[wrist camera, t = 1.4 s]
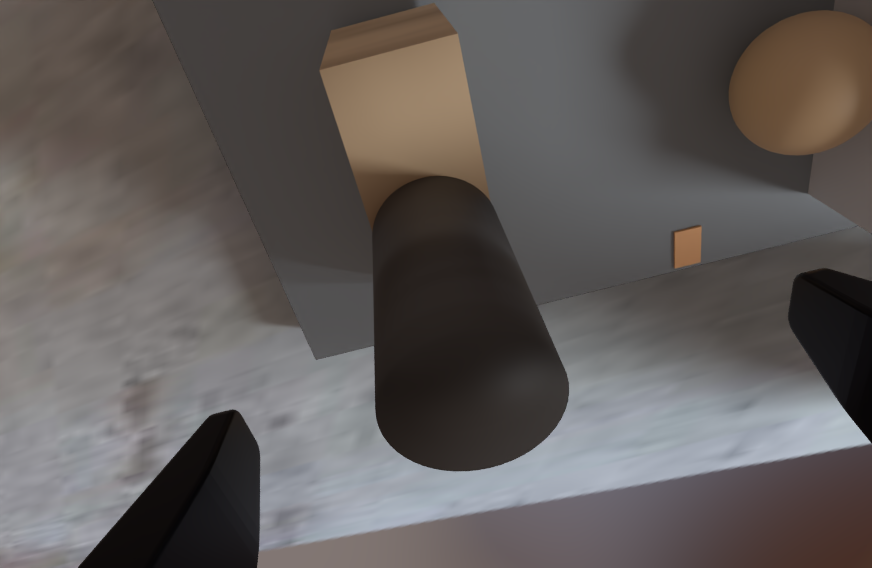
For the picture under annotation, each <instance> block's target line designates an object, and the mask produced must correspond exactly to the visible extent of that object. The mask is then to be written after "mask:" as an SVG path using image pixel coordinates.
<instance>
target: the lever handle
mask: <svg viewBox="0 0 872 568" xmlns="http://www.w3.org/2000/svg"><path fill="white" fill-rule="evenodd" d="M319 71H320V74H321V77H322V80H323V83H324V86H325V89H326V92H327V95H328V99H329V102H330V105H331V108H332V111H333V114H334V117H335V120H336V123H337V126H338V129H339V132H340V135H341V138H342V141H343V144H344V147H345V150H346V153H347V156H348V159H349V162H350V165H351V168H352V171H353V174H354V177H355V180H356V183H357V187H358V190H359V193H360V196H361V199H362V202H363V205H364V208H365V211H366V214H367V217H368V220H369V223H370V226H371V229H372V253H373V306H374V359H375V411H376V419H377V423H378V426H379V429H380V431H381V433H382V435H383V436H384V438H385V439H386V440H387V442H388V443H389V444H390V445H391V446H392V447H393V448H394V449H395V450H396V451H397V452H398V453H400V454H401V455H403V456H404V457H406V458H407V459H409V460H411V461H413V462H415V463H418V464H420V465H423V466H426V467H430V468H433V469H439V470H446V471H473V470H481V469H486V468H491V467H494V466H498V465H501V464H504V463H507V462H509V461H512V460H514V459H516V458H518V457H520V456H522V455H524V454H526V453H527V452H529V451H531V450H532V449H533V448H535V447H536V446H537V445H539V444H540V443H541V442H542V441H543V440H545V439H546V438H547V437H548V436H549V435H550V433H551V432H552V431H553V430H554V429H555V428H556V426H557V424H558V423H559V421H560V420H561V418H562V416H563V414H564V412H565V409H566V406H567V402H568V396H569V382H568V378H567V374H566V371H565V369H564V367H563V365H562V362H561V360H560V358H559V355H558V353H557V351H556V348H555V346H554V344H553V342H552V339H551V337H550V335H549V332H548V330H547V328H546V326H545V323H544V321H543V319H542V316H541V314H540V312H539V310H538V307H537V305H536V303H535V300H534V298H533V296H532V294H531V291H530V289H529V287H528V284H527V282H526V280H525V278H524V275H523V273H522V271H521V268H520V266H519V264H518V261H517V259H516V257H515V255H514V252H513V250H512V248H511V245H510V243H509V241H508V239H507V236H506V234H505V232H504V229H503V227H502V225H501V223H500V220H499V218H498V216H497V213H496V211H495V209H494V207H493V205H492V203H491V201H490V196H489V191H488V186H487V181H486V176H485V170H484V165H483V160H482V155H481V150H480V145H479V140H478V134H477V129H476V124H475V119H474V114H473V109H472V104H471V98H470V93H469V88H468V83H467V78H466V73H465V67H464V62H463V57H462V52H461V47H460V42H459V37H458V33H457V32H456V30H455V29H454V28H453V26H452V25H451V24H450V23H449V21H448V20H447V19H446V17H445V16H444V15H443V14H442V12H441V11H440V10H439V8H438V7H437V6H436V4H435V3H432V4H428V5H424V6H420V7H417V8H413V9H409V10H406V11H402V12H398V13H394V14H391V15H387V16H383V17H380V18H376V19H372V20H368V21H365V22H361V23H357V24H354V25H350V26H346V27H342V28H339V29H335V30H331V33H330V36H329V40H328V43H327V46H326V49H325V53H324V56H323V59H322V63H321V66H320V69H319Z"/></svg>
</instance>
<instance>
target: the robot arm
mask: <svg viewBox="0 0 872 568" xmlns="http://www.w3.org/2000/svg"><path fill="white" fill-rule="evenodd" d="M788 320H789V324H790V327H791V329H792V331H793V333H794V334H795V336H796V337H797V339H798V340H799V342H800V343H801V345H802V346H803V348H804V349H805V351H806V353H807V354H808V356H809V357H810V359H811V360H812V362H813V363H814V365H815V366H816V368H817V369H818V371H819V372H820V374H821V375H822V377H823V378H824V380H825V382H826V383H827V385H828V386H829V388H830V389H831V391H832V392H833V394H834V395H835V397H836V398H837V400H838V401H839V402H840V404H841V405H842V407H843V408H844V409H845V411H846V412H847V413H848V415H849V416H850V417H851V418H852V420H853V421H854V422H855V423H856V425H857V426H858V427H859V428H860V430H861V431H862V432H863V433H864V434H865V436H866V437H867V438H868V439H869V441H870V442H871V443H872V281H868V280H865V279H862V278H858V277H855V276H851V275H848V274H844V273H841V272H838V271H834V270H831V269H827V268H822V269H817V270H813V271H808V272H804V273H801V274H799V275H797V276H796V278H795V279H794V282H793V287H792V294H791V300H790V306H789V312H788ZM259 534H260V451H259V447H258V444H257V442H256V440H255V438H254V436H253V434H252V433H251V431H250V429H249V428H248V426H247V424H246V422H245V421H244V419H243V417H242V415H241V414H240V413H239V412H238V411H237V410H228V411H224V412H220V413H215V414H213V415H211V416H209V417H208V418H207V419H206V420H205V421H204V422H203V424H202V425H201V426H200V427H199V428H198V429H197V431H196V432H195V433H194V434H193V435H192V436H191V437H190V439H189V440H188V441H187V442H186V443H185V444H184V446H183V447H182V448H181V449H180V450H179V451H178V452H177V454H176V455H175V456H174V457H173V458H172V459H171V461H170V462H169V463H168V464H167V465H166V466H165V467H164V469H163V470H162V471H161V472H160V473H159V474H158V476H157V477H156V478H155V479H154V480H153V481H152V482H151V484H150V485H149V486H148V487H147V488H146V489H145V491H144V492H143V493H142V494H141V495H140V496H139V497H138V499H137V500H136V501H135V502H134V503H133V504H132V506H131V507H130V508H129V509H128V510H127V511H126V512H125V514H124V515H123V516H122V517H121V518H120V519H119V520H118V522H117V523H116V524H115V525H114V526H113V527H112V529H111V530H110V531H109V532H108V533H107V534H106V535H105V537H104V538H103V539H102V540H101V541H100V542H99V544H98V545H97V546H96V547H95V548H94V549H93V550H92V552H91V553H90V554H89V555H88V556H87V557H86V559H85V560H84V561H83V562H82V563H81V564H80V565H79V567H78V568H257V562H258V552H259Z"/></svg>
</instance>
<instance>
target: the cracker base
mask: <svg viewBox="0 0 872 568" xmlns="http://www.w3.org/2000/svg"><path fill="white" fill-rule="evenodd" d="M152 1H153V3H154V5H155V7H156V10H157V12H158V14H159V16H160V18H161V21H162V23H163V25H164V27H165V29H166V32H167V34H168V36H169V38H170V40H171V43H172V45H173V47H174V49H175V51H176V54H177V56H178V58H179V60H180V62H181V65H182V67H183V69H184V71H185V73H186V76H187V78H188V80H189V82H190V84H191V87H192V89H193V91H194V93H195V95H196V98H197V100H198V102H199V104H200V106H201V109H202V111H203V113H204V115H205V117H206V120H207V122H208V124H209V126H210V128H211V131H212V133H213V135H214V137H215V139H216V142H217V144H218V146H219V148H220V150H221V153H222V155H223V157H224V159H225V161H226V164H227V166H228V168H229V170H230V172H231V175H232V177H233V179H234V181H235V183H236V186H237V188H238V190H239V192H240V194H241V196H242V199H243V201H244V203H245V205H246V207H247V210H248V212H249V214H250V216H251V218H252V221H253V223H254V225H255V227H256V229H257V232H258V234H259V236H260V238H261V240H262V243H263V245H264V247H265V249H266V251H267V254H268V256H269V258H270V260H271V262H272V265H273V267H274V269H275V271H276V273H277V276H278V278H279V280H280V282H281V284H282V287H283V289H284V291H285V293H286V295H287V298H288V300H289V302H290V304H291V306H292V309H293V311H294V313H295V315H296V317H297V320H298V322H299V324H300V326H301V328H302V331H303V333H304V335H305V337H306V339H307V342H308V344H309V346H310V348H311V350H312V353H313V355H314V357H315V359H316V360H318V359H322V358H326V357H330V356H334V355H338V354H342V353H346V352H350V351H354V350H358V349H362V348H366V347H370V346H374V306H373V253H372V229H371V226H370V223H369V220H368V217H367V214H366V211H365V208H364V205H363V202H362V199H361V196H360V193H359V190H358V187H357V183H356V180H355V177H354V174H353V171H352V168H351V165H350V162H349V159H348V156H347V153H346V150H345V147H344V144H343V141H342V138H341V135H340V132H339V129H338V126H337V123H336V120H335V117H334V114H333V111H332V108H331V105H330V102H329V99H328V95H327V92H326V89H325V86H324V83H323V80H322V77H321V74H320V71H319V69H320V66H321V63H322V59H323V56H324V53H325V49H326V46H327V43H328V40H329V36H330V33H331V30H335V29H339V28H342V27H346V26H350V25H354V24H357V23H361V22H365V21H368V20H372V19H376V18H380V17H383V16H387V15H391V14H394V13H398V12H402V11H406V10H409V9H413V8H417V7H420V6H424V5H428V4H432V3H435V4H436V6H437V7H438V8H439V10H440V11H441V12H442V14H443V15H444V16H445V17H446V19H447V20H448V21H449V23H450V24H451V25H452V26H453V28H454V29H455V30H456V32H457V33H458V37H459V42H460V47H461V52H462V57H463V62H464V67H465V73H466V78H467V83H468V88H469V93H470V98H471V104H472V109H473V114H474V119H475V124H476V129H477V134H478V140H479V145H480V150H481V155H482V160H483V165H484V170H485V176H486V181H487V186H488V191H489V196H490V201H491V203H492V205H493V207H494V209H495V211H496V213H497V216H498V218H499V220H500V223H501V225H502V227H503V229H504V232H505V234H506V236H507V239H508V241H509V243H510V245H511V248H512V250H513V252H514V255H515V257H516V259H517V261H518V264H519V266H520V268H521V271H522V273H523V275H524V278H525V280H526V282H527V284H528V287H529V289H530V291H531V294H532V296H533V298H534V300H535V303H536V305H540V304H544V303H548V302H552V301H557V300H561V299H565V298H569V297H573V296H577V295H581V294H585V293H589V292H593V291H597V290H601V289H605V288H609V287H613V286H617V285H621V284H625V283H629V282H633V281H638V280H642V279H646V278H650V277H654V276H658V275H662V274H666V273H670V272H674V271H678V270H682V269H686V268H690V267H694V266H698V265H702V264H706V263H710V262H714V261H719V260H723V259H727V258H731V257H735V256H739V255H743V254H747V253H751V252H755V251H759V250H763V249H767V248H771V247H775V246H779V245H783V244H787V243H791V242H795V241H800V240H804V239H808V238H812V237H816V236H820V235H824V234H828V233H832V232H836V231H840V230H844V229H848V228H852V227H856V226H860V227H861V228H863V229H865V230H866V231H868V232H869V233H871V234H872V0H152Z"/></svg>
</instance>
